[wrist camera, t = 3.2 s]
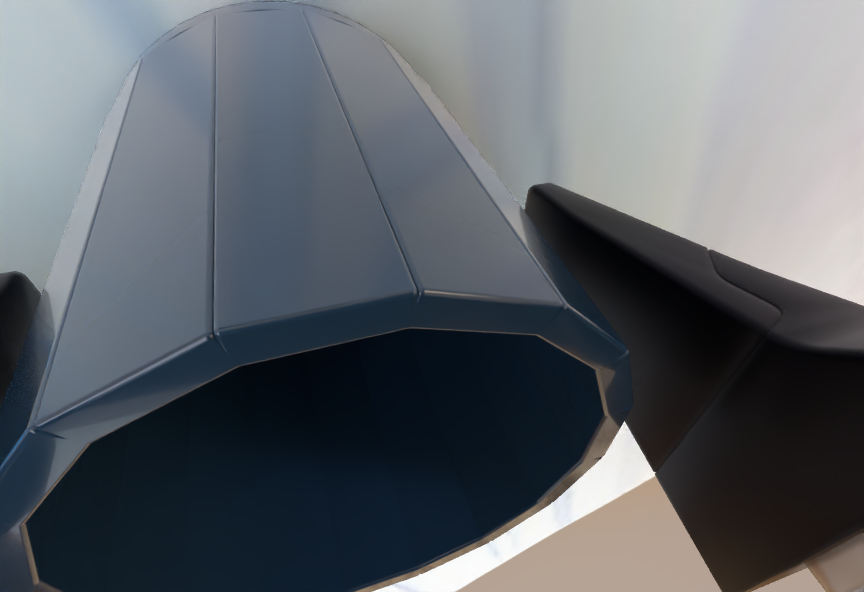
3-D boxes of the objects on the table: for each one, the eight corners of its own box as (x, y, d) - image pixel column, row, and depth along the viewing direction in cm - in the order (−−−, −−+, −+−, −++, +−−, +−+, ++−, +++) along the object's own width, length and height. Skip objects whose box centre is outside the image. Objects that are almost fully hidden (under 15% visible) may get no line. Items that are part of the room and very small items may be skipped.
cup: (447, -12, 9) (744, 224, 4) (437, 263, 14) (563, 526, 9) (28, 14, 7) (-378, 457, 2) (184, 313, 12) (160, 664, 7)
